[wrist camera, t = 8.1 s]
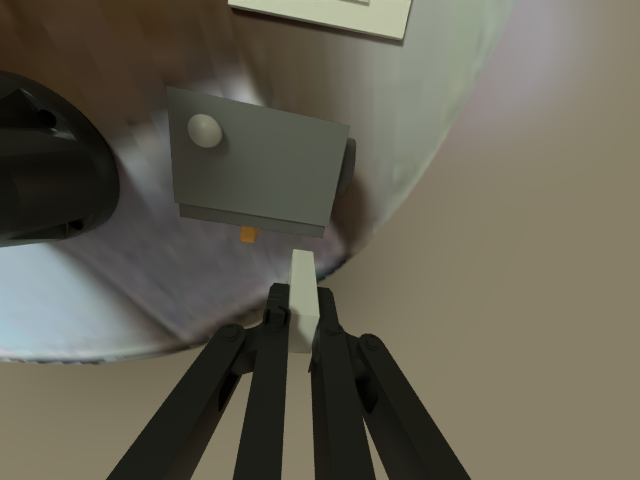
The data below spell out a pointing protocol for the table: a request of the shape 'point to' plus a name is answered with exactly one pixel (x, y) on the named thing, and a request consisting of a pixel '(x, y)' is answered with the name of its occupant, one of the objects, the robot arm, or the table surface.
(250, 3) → the photo frame
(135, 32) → the table surface
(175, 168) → the camera body
